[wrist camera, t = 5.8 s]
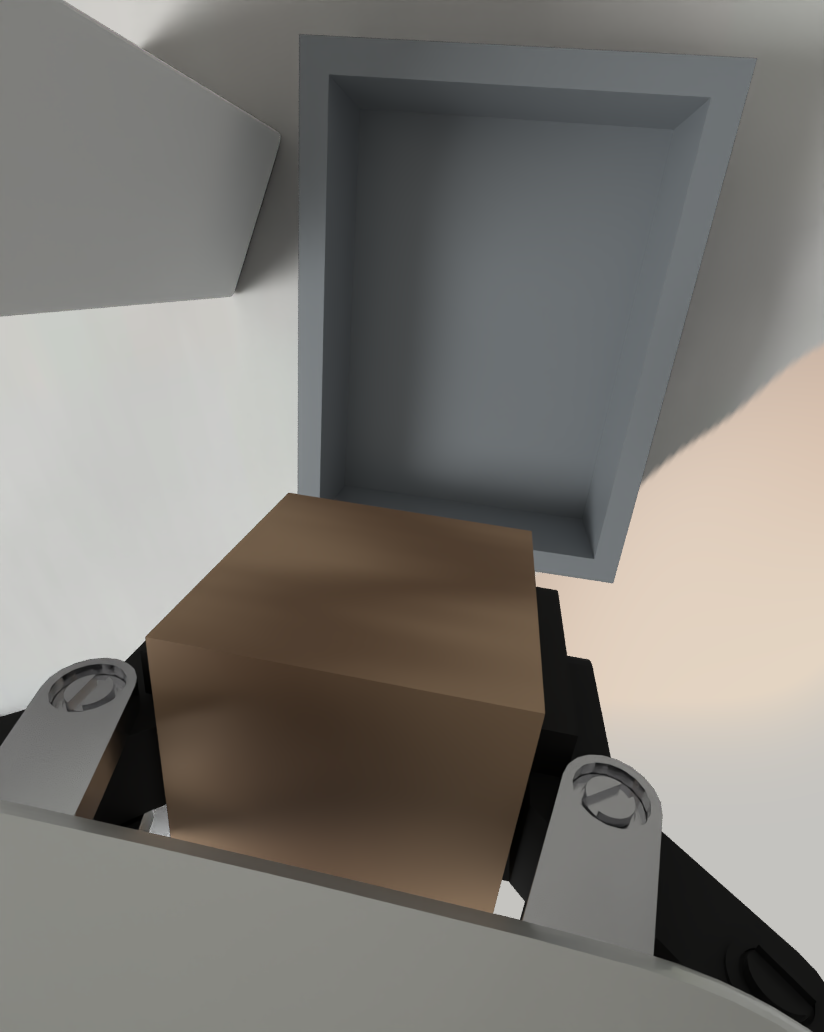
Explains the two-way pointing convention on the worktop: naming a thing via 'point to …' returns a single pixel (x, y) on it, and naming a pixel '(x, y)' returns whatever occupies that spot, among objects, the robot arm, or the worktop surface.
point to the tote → (500, 275)
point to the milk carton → (116, 170)
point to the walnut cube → (356, 697)
